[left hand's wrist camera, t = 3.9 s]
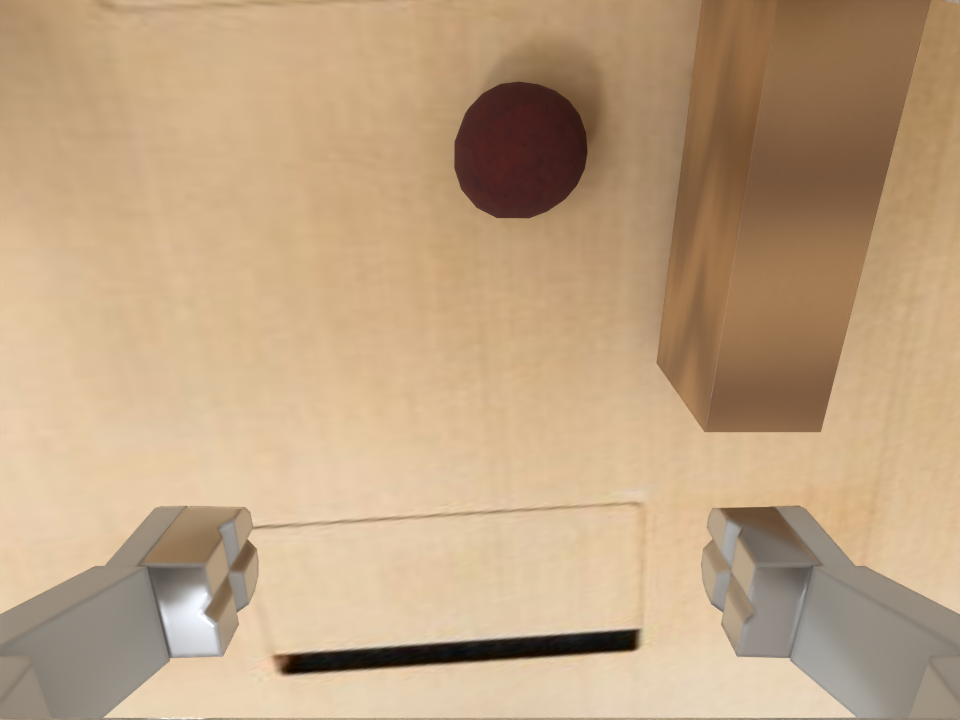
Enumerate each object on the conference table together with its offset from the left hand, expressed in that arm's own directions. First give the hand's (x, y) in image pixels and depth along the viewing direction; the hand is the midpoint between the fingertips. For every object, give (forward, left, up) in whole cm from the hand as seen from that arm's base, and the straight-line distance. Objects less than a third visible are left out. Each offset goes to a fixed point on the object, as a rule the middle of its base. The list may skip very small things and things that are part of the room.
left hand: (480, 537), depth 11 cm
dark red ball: (-4, +5, -31) cm, 32 cm away
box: (+3, +16, -29) cm, 33 cm away
